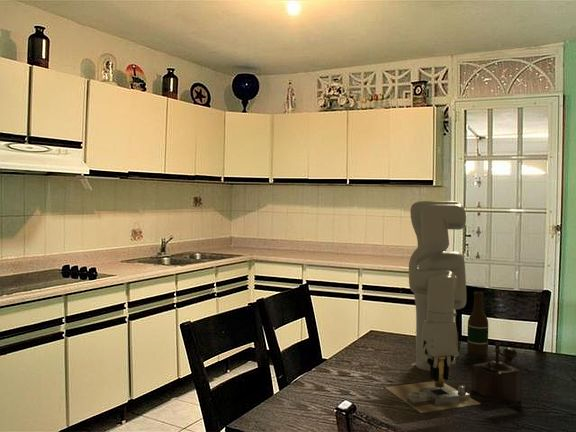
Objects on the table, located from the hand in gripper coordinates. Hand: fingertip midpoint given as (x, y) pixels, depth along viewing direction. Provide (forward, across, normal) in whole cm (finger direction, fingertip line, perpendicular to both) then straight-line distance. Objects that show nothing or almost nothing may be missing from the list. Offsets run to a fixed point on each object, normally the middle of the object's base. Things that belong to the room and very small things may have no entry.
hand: (439, 378), depth 151 cm
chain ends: (+6, 0, 0) cm, 6 cm away
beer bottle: (+8, -45, -39) cm, 60 cm away
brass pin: (+2, 0, 0) cm, 2 cm away
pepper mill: (+8, -20, +3) cm, 22 cm away
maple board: (+8, 0, -4) cm, 9 cm away
